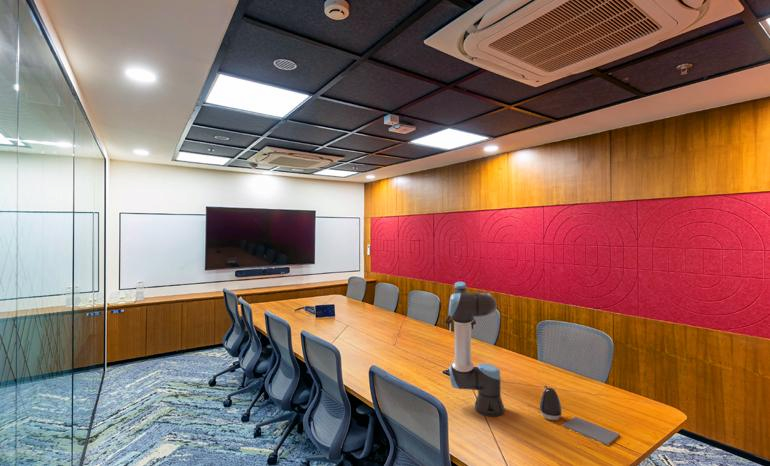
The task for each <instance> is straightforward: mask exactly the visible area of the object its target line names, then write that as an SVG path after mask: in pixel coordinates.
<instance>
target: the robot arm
mask: <svg viewBox="0 0 770 466" xmlns="http://www.w3.org/2000/svg"><path fill="white" fill-rule="evenodd" d="M497 308H498V302H497V300H496V298H495V297H493V296H492V294H491V293H489V292H467V284H466V283H465V282H463V281H457V282H455V283H454V293H452V294H451V295H450V297H449V304H448V315H447V317H446V318H445V320H444V323H445V324H447V329H449V333H450V334H451V332H452V329H451V328H452V322H453V324H454V329H453V330H454V333H453V334H454V335H453V336H454V338H453V339H454V360H453V361H452V362H451V364H450V365H449V368H448V370H449V379H450V384H451V387H452V388H454V389H458V390H469V391H470V390H472V391H477V396H476V398H475V399H476V400H475V401H474V410H475V411H476V412H477V413H479V414H480V415H483V416H487V417H499V416H502V415H503V414H505V406H504V402H503V400H502V396H501V379H502V378H501V370H500V369H499V368H498V367H497V366H496V365H493V364H489V363H486V362H481V363H478V364H477V366H474V363H473V362H472V330H473V329H474V325H476V324H477V322H476V319H475V317H476V318H477V317H479V318H481V317H486V316H489V315H491V314H494V312H496V310H497Z"/></svg>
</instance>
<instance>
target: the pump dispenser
mask: <svg viewBox="0 0 770 466" xmlns="http://www.w3.org/2000/svg"><path fill="white" fill-rule="evenodd" d="M539 411H540V413H541V415H542V417H544V419H546V420H549V421H557V420H559V419H560V418H561V416H562V414H563V412H562V405H561V400H560V398H559V395H558V393H557V391H556V390H555V389H554V387H553V388H552V387H548V386H547V385H544V391H542V394H541V398H540V401H539Z"/></svg>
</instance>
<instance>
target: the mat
mask: <svg viewBox="0 0 770 466" xmlns="http://www.w3.org/2000/svg"><path fill="white" fill-rule="evenodd" d="M564 427H565V428H564ZM562 428H564V429H567V428H568V429H567V430H569V429H571V430H573V431H572V432H574V431H575V432H574V433H576V432H578V433H580V434H582V435H581V436H583V435H584V436H583V437H585V436H586V437H585V438H587V437H589V438H588V439H590V438H591V439H590V440H592V439H594V440H596V441H595V442H597V441H599V442H601V443H604V444H606V445H608V444H610V443H611V442H612V441H614V440H615V439H616V438H617V437H618V438H620V437H621V434H620V433H619V432H617V431H614V430H611V429H609V428H606V427H603V426H600V425H598V424H596V423H593V422H591V421H589V420H586V419H583V418H581V417H578V416H574V417H572V418H570V420H568V421H566V422H565V423H563V424H562ZM571 430H570V431H571ZM578 433H577V434H578ZM580 434H579V435H580ZM619 436H620V437H619ZM618 438H617V439H618ZM617 439H616V440H617ZM594 440H593V441H594ZM616 440H615V441H616ZM615 441H614V442H615ZM599 442H598V443H599ZM601 443H600V444H601ZM612 443H613V442H612ZM612 443H611V444H612ZM611 444H610V445H611ZM606 445H605V446H606Z"/></svg>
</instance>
